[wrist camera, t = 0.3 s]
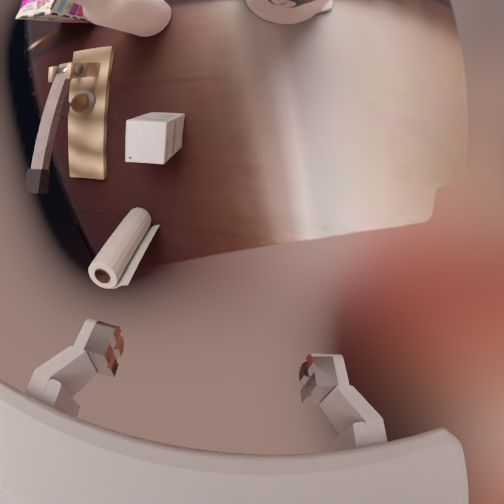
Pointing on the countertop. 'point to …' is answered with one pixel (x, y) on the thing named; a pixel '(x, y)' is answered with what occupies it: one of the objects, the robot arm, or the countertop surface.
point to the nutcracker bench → (89, 122)
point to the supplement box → (153, 137)
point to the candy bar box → (52, 11)
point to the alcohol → (128, 15)
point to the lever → (48, 132)
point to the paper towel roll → (123, 250)
